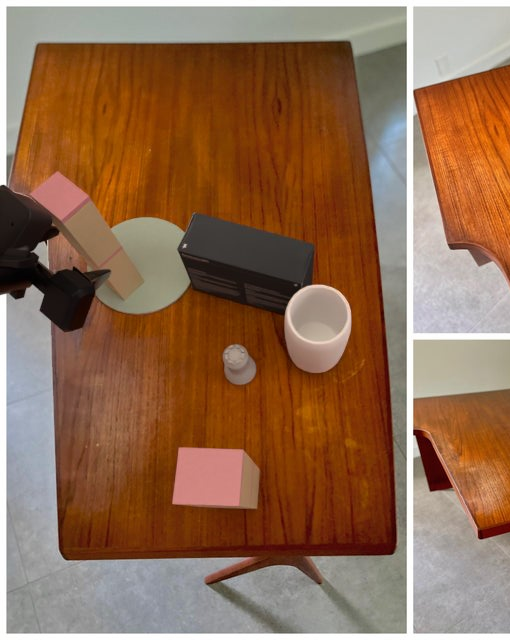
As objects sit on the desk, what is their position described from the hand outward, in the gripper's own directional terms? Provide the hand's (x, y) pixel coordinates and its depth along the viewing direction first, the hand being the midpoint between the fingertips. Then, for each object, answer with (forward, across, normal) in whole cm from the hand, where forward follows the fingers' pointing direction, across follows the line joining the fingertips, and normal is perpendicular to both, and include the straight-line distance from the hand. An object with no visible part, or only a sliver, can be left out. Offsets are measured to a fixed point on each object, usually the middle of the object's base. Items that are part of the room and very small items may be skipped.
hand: (83, 251), depth 67 cm
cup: (+17, -28, 0) cm, 33 cm away
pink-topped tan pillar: (+10, 0, +7) cm, 12 cm away
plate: (+13, 0, +5) cm, 14 cm away
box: (+18, -15, -1) cm, 24 cm away
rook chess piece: (+11, -22, +7) cm, 26 cm away
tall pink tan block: (+2, -32, +16) cm, 36 cm away
